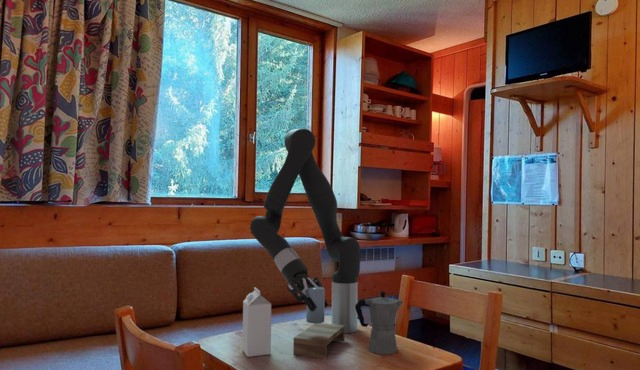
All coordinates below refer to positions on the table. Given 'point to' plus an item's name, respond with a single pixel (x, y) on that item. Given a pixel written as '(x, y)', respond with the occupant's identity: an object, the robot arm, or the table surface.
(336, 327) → the shelf
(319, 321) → the blue dome-topped cylinder
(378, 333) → the coffeepot
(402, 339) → the table surface
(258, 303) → the milk carton
